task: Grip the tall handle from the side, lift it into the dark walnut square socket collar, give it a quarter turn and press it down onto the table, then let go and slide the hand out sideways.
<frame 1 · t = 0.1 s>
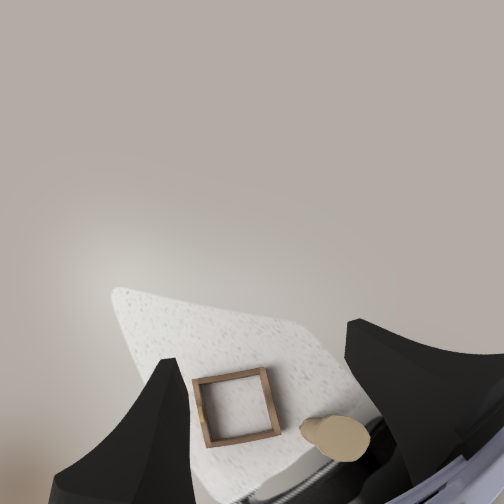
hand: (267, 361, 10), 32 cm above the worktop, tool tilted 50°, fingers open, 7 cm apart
handle: (308, 428, 35), on the worktop
collar: (236, 408, 36), on the worktop
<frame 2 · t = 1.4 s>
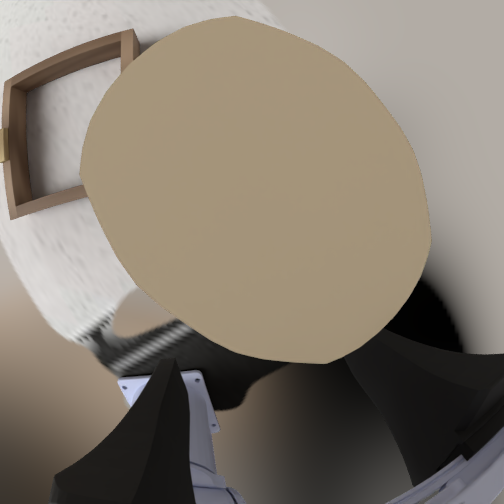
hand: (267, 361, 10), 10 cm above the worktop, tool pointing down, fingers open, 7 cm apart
handle: (218, 179, 18), on the worktop
collar: (73, 126, 15), on the worktop
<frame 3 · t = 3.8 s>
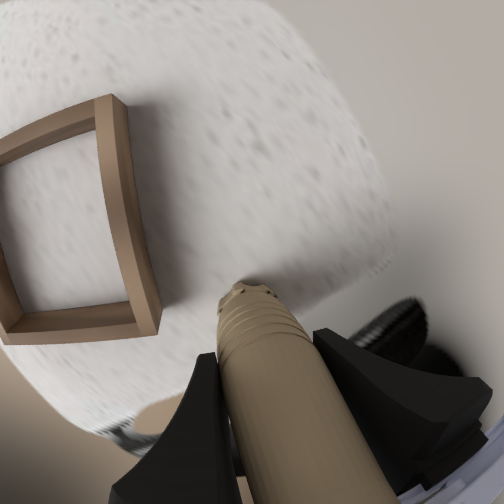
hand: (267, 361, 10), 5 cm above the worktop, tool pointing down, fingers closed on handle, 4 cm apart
handle: (246, 303, 15), on the worktop, touching gripper
collar: (52, 231, 12), on the worktop
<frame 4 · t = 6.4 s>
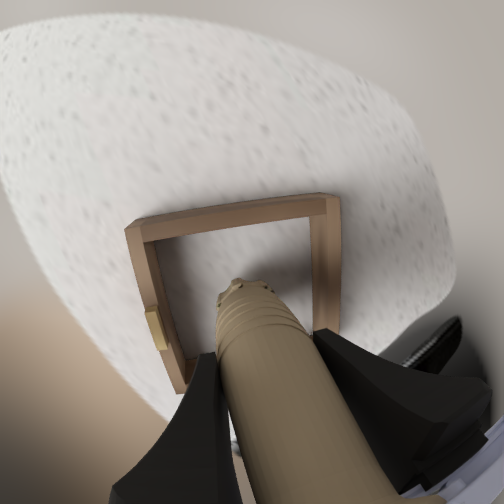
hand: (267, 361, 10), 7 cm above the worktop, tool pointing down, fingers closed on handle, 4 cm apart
handle: (244, 299, 16), point 1 cm above the worktop, touching gripper
collar: (241, 291, 17), on the worktop
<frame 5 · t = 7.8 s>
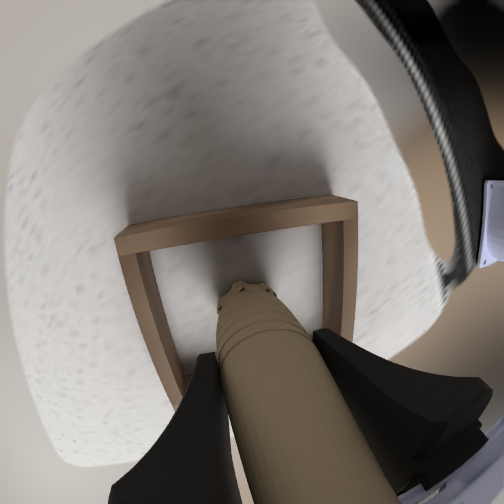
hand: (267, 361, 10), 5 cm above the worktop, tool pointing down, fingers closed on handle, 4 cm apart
handle: (245, 301, 15), resting in collar, touching gripper
collar: (246, 304, 15), on the worktop
when the fingers open (5 cm above the worktop, at t = 8.9 s): handle stays where it is, resting in collar.
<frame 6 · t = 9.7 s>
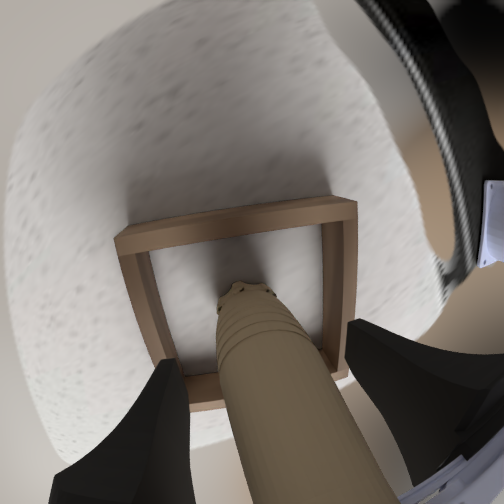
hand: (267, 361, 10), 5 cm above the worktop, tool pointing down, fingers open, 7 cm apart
handle: (245, 302, 15), resting in collar
collar: (246, 304, 15), on the worktop
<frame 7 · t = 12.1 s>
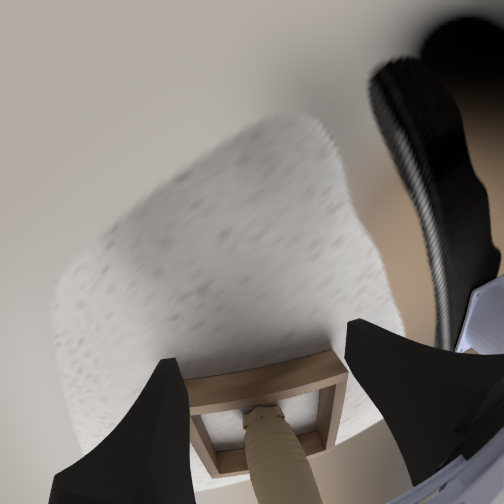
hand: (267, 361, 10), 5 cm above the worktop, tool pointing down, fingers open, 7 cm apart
handle: (261, 413, 19), resting in collar
collar: (262, 416, 18), on the worktop
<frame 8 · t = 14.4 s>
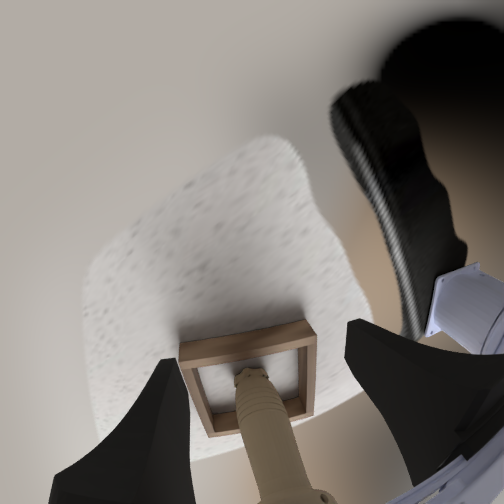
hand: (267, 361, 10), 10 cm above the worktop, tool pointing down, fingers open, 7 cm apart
handle: (250, 376, 24), resting in collar
collar: (251, 378, 24), on the worktop
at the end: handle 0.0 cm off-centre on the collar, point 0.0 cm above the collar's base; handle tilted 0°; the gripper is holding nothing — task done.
